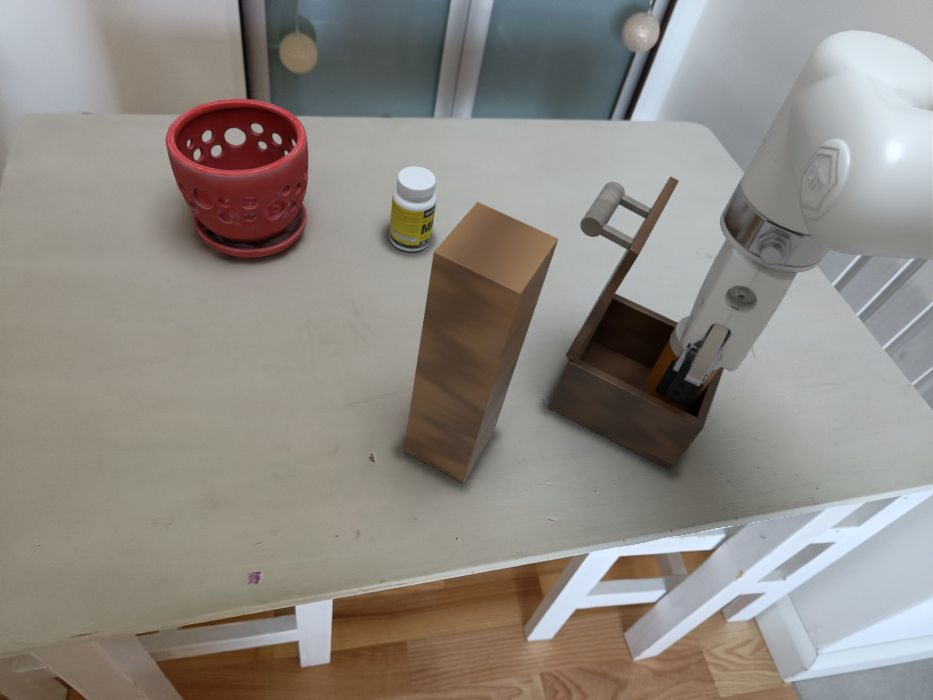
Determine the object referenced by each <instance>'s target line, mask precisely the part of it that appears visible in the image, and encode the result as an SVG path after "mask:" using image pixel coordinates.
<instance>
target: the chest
mask: <svg viewBox="0 0 933 700" xmlns="http://www.w3.org/2000/svg"><path fill="white" fill-rule="evenodd" d="M678 322H679V321H676V320H673V319H672V318H669V317H667V316H665V315H662V314H661V313H658V312H656V311H654V310H652V309H650V308H648V307H645V306H643V305H642V304H639V303H638V302H635V301H633V300H631V299H628V298H626V297H624V296H623V295H619V294H617V292H615V294H614V296H613V297H612V299H611V300H610V302H609V304H608V305H607V307H606V309H605V310H604V312H603V313H602V315H601V317H600V318H599V320H598V321H597V323H596V325H595V326H594V328H593V329H592V331H591V333H590V334H589V336H588V337H587V339H586V341H585V342H584V344H583V345H582V347H581V349H580V350H579V352H578V353H577V355H576V357H575V358H574V360H572V359H570V358H568V360H567V362H566V365H565V366H564V369H563V371H562V374H561V375H560V378H559V381H558V383H557V386H556V388H555V390H554V392H553V395H552V398H551V399H550V402H549V404H548V406H547V408H548V409H550V410H552V411H553V412H556V413H557V414H560V415H561V416H563V417H566V418H567V419H569V420H571V421H574V422H575V423H578V424H579V425H581V426H583V427H585V428H587V429H589V430H591V431H593V432H595V433H597V434H599V435H601V436H603V437H604V438H606V439H609V440H611V441H613V442H614V443H616V444H619V445H620V446H622V447H624V448H625V449H628V450H630V451H632V452H634V453H635V454H637V455H640V456H642V457H644V458H646V459H648V460H649V461H651V462H653V463H656V464H658V465H659V466H661V467H663V468H666V469H667V470H669V471H671V470H672V469H673V468H674V467H675V466H676V464H677V463H678V462H679V460H680V459H681V458H682V457H683V455H684V454H685V453H686V451H687V450H688V449H689V447H690V446H691V445H692V444H693V443H694V441H695V440H696V438H697V437H698V436H699V434H700V433H701V432H702V430H703V429H704V427H705V424H706V422H707V419H708V415H709V413H710V410H711V408H712V405H713V401H714V399H715V396H716V393H717V391H718V387H719V384H720V381H721V379H722V376H723V372H724V370H725V369H724V368H722V367H720V368H719V370H718V371H717V372H716V374H715V375H714V377H713V378H712V379H711V381H710V382H709V384H708V385H707V386H706V388H705V389H704V391H703V392H702V394H701V395H700V396H699V398H698V399H697V401H696V402H695V403H694V405H693V406H692V408H691V409H689V410H688V411H686V412H684V411H682V410H680V409H678V408H676V407H674V406H672V405H670V404H668V403H666V402H664V401H662V400H660V399H658V398H656V397H654V396H652V395H650V394H648V393H646V392H645V381H646V379H647V377H648V376H649V374H650V372H651V370H652V369H653V367H654V365H655V364H656V362H657V360H658V358H659V357H660V355H661V353H662V352H663V350H664V348H665V346H666V345H667V343H668V341H669V340H670V336H671V334H672V332H673V330H674V329H675V327H676V325H677V324H678Z"/></svg>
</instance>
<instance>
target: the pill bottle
mask: <svg viewBox="0 0 933 700" xmlns="http://www.w3.org/2000/svg"><path fill="white" fill-rule="evenodd" d="M689 316H690V315H688V316H687V315H686V316H685V317H683V318H680V319H679V321H677V322H678V324H677V325H676V327H675V329H674V330H673V332H672V334H671V336H670V340H669V341H668V343H667V345H666V346H665V348H664V350H663V352H662V353H661V355H660V357H659V358H658V360H657V362H656V364H655V365H654V367H653V369H652V370H651V372H650V374H649V376H648V377H647V379H646V381H645V392H646V393H648V394H650V395H652V396H654V397H656V398H658V399H660V400H662V401H664V402H666V403H668V404H670V405H672V406H674V407H676V408H678V409H680V410H682V411H684V412H686V411H688V410H689V409H691V408H692V406H693V405H694V403H695V402H696V401H697V399H698V398H699V396H700V395H701V394H702V392H703V391H704V389H705V388H706V386H707V385H708V384H709V382H710V381H711V379H712V378H713V377H714V375H715V374H716V372H717V371H718V370H719V368H720V367H721V357H720V359H719V360H718V362H717V364H716V365H715V367H714V369H713V370H712V372H711V373H710V375H709V377H708V380H707V382H706V383H705V385H704V386H703V387H702V389H701V390H700V392H699V393H698V395H697V396H696V397H695V399H694V400H693V402H692V403H691V405H690V406H687V407H686V406H683V405H681V404H679V403H677V402H675V401H673V400H671V399H669V398H667V397H665V396H663V395H661V394H659V393H657V392H656V391H655V389H656V387H657V384H658V383H659V381H660V380H661V378H662V376H663V375H664V373H665V371H666V370H667V368H668V366H669V365H670V363H671V362H672V360H675V361H676V360H677V358H678V357H679V355H680V353H681V351H682V350H683V348H682V346H681V343H680V341H681V338H682V335H683V332H684V330H685V327H686V324H687V321H688V319H689ZM703 340H704V339H702V340H700V341H703ZM696 354H697V353H696V352H694V351H692V350H691V351H690V353H689V355H688V357H687V358H686V360H687V361H689V362H691V363H692V361H693V359H694V357H695V356H696Z"/></svg>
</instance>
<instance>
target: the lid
mask: <svg viewBox="0 0 933 700" xmlns="http://www.w3.org/2000/svg"><path fill="white" fill-rule="evenodd" d="M679 182H680V180H679V179H677V178H675V177H673V176H669V178H668V180H667V181H666V183H665V184H664V186H663V187H662V190H661V191H660V193H659V194H658V196H657V198H656V200H655V201H654V203H653V204H652V206H651V207H650V206H648V205H646V204H644V203H642V202H640V201H638V200H636V199H634V198H633V197H631V196H628V195H627V194H626V191H625V190H626V189H625V188H624V186H623V185H622V184H621V183H619V182H617V181H609V182H607V183H606V184H605V185H604V186H603V188H602V189H601V191H600V192H599V194H598V195H597V196H596V197H595V199H594V201H593V202H592V204H591V205H590V207H589V209H588V210H587V211H586V213H585V215H584V216H583V218H582V219H581V221H580V225H579V226H580V230H581V232H582V233H583V234H584V235H586V236H587V237H589V238H597V237H599V236H601V237H603V238H605V239H607V240H609V241H611V242H612V243H614V244H616V245H618V246H619V247H621V248H623V249H625V251H624V253H623V255H622V256H621V258H620V260H619V261H618V263H617V265H616V266H615V268H614V270H613V271H612V273H611V274H610V276H609V278H608V279H607V281H606V283H605V285H604V287H602V290H601V292H600V293H599V295H598V297H597V299H596V301H595V303H594V304H593V306H592V308H591V309H590V311H589V313H588V314H587V316H586V318H585V320H584V322H583V324H582V325H581V327H580V329H579V331H578V332H577V334H576V336H575V338H574V339H573V341H572V343H571V345H570V346H569V348H568V350H567V351H566V354H565V357H566V358H568V359H569V358H570V359H572V360H574V358H575V357H576V355H577V353H578V352H579V350H580V349H581V347H582V345H583V344H584V342H585V341H586V339H587V337H588V336H589V334H590V333H591V331H592V329H593V328H594V326H595V325H596V323H597V321H598V320H599V318H600V317H601V315H602V313H603V312H604V310H605V309H606V307H607V305H608V304H609V302H610V300H611V299H612V297H613V296H614V294H615V293H617V292H618V289H619V287H620V286H621V285H622V283H623V281H624V280H625V279H626V276H627V275H628V273H629V272H630V270H631V268H632V267H633V265H635V262H636V260H637V259H638V257H639V256H640V254H641V252H642V250H643V248H644V247H645V245H646V243H647V241H648V239H649V238H650V236H651V234H652V232H653V230H654V228H655V226H656V225H657V223H658V221H659V219H660V217H661V215H662V214H663V212H664V210H665V208H666V206H667V205H668V202H669V200H670V199H671V197H672V196H673V193H674V191H675V190H676V187H677V186H678V184H679ZM619 206H621V207H623V208H625V209H627V210H628V211H630V212H632V213H633V214H636V215H638V216H640V217H642V218H643V221H642V223H641V224H640V226H639V228H638V230H637V231H636V232H635V235H634V236H633V237H631V236H629V235H628V234H626V233H624V232H623V231H620V230H618V229H616V228H615V227H613V226H611V225H610V224H609V222H610V220H611V219H612V217H613V215H614V213H615V212H616V211H617V209H618V208H619Z"/></svg>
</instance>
